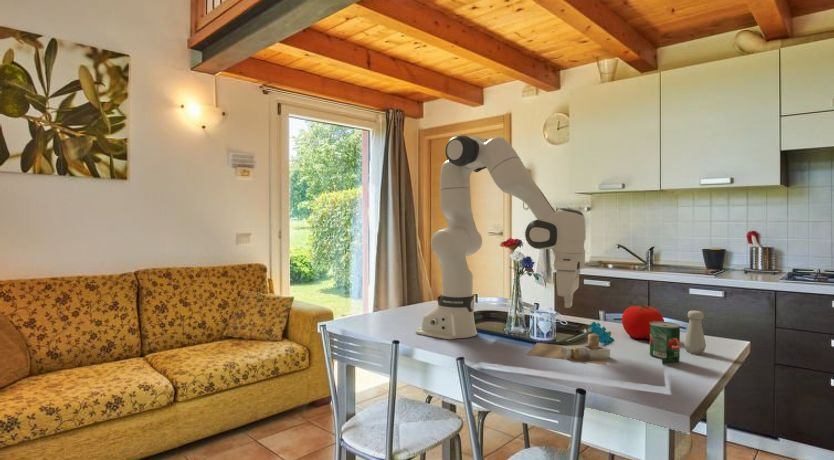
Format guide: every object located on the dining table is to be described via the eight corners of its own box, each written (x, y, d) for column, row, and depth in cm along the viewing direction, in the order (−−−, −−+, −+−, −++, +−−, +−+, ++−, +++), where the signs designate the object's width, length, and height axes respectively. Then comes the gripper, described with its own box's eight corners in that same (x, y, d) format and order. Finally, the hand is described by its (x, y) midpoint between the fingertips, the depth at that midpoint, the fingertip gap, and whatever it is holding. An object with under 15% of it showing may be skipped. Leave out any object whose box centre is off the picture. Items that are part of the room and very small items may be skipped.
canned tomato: (648, 356, 144) (648, 320, 144) (677, 358, 141) (678, 322, 141) (650, 363, 137) (650, 325, 136) (681, 366, 134) (681, 328, 133)
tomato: (640, 331, 174) (640, 300, 174) (672, 340, 162) (672, 307, 161) (613, 335, 170) (613, 302, 169) (644, 344, 157) (644, 309, 157)
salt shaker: (704, 356, 143) (705, 313, 143) (683, 353, 147) (683, 311, 147) (706, 351, 148) (707, 310, 148) (686, 348, 152) (686, 308, 151)
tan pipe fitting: (569, 361, 134) (569, 350, 134) (558, 354, 140) (558, 344, 140) (609, 358, 137) (610, 347, 137) (596, 352, 143) (597, 342, 143)
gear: (607, 346, 149) (587, 320, 154) (593, 357, 152) (575, 331, 157) (622, 345, 156) (603, 320, 162) (609, 355, 159) (591, 330, 165)
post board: (526, 359, 141) (526, 334, 140) (536, 347, 154) (536, 324, 154) (605, 369, 131) (605, 343, 131) (609, 355, 144) (609, 331, 144)
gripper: (564, 258, 154) (562, 300, 154) (553, 264, 135) (551, 312, 136) (584, 259, 151) (583, 302, 152) (576, 265, 133) (574, 314, 133)
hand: (568, 307), depth 144 cm, fingers closed
